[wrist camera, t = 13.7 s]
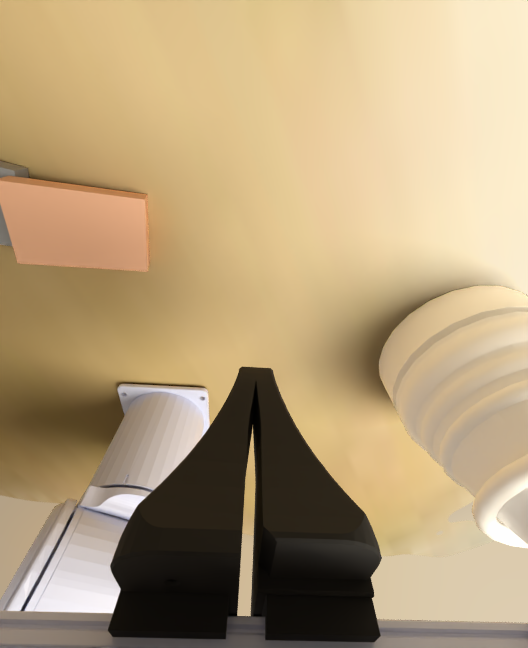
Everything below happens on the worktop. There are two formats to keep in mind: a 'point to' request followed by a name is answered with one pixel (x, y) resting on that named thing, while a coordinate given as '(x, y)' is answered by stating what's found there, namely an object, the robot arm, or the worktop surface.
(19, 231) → the tile
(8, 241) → the domino
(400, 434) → the worktop surface
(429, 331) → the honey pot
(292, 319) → the worktop surface
